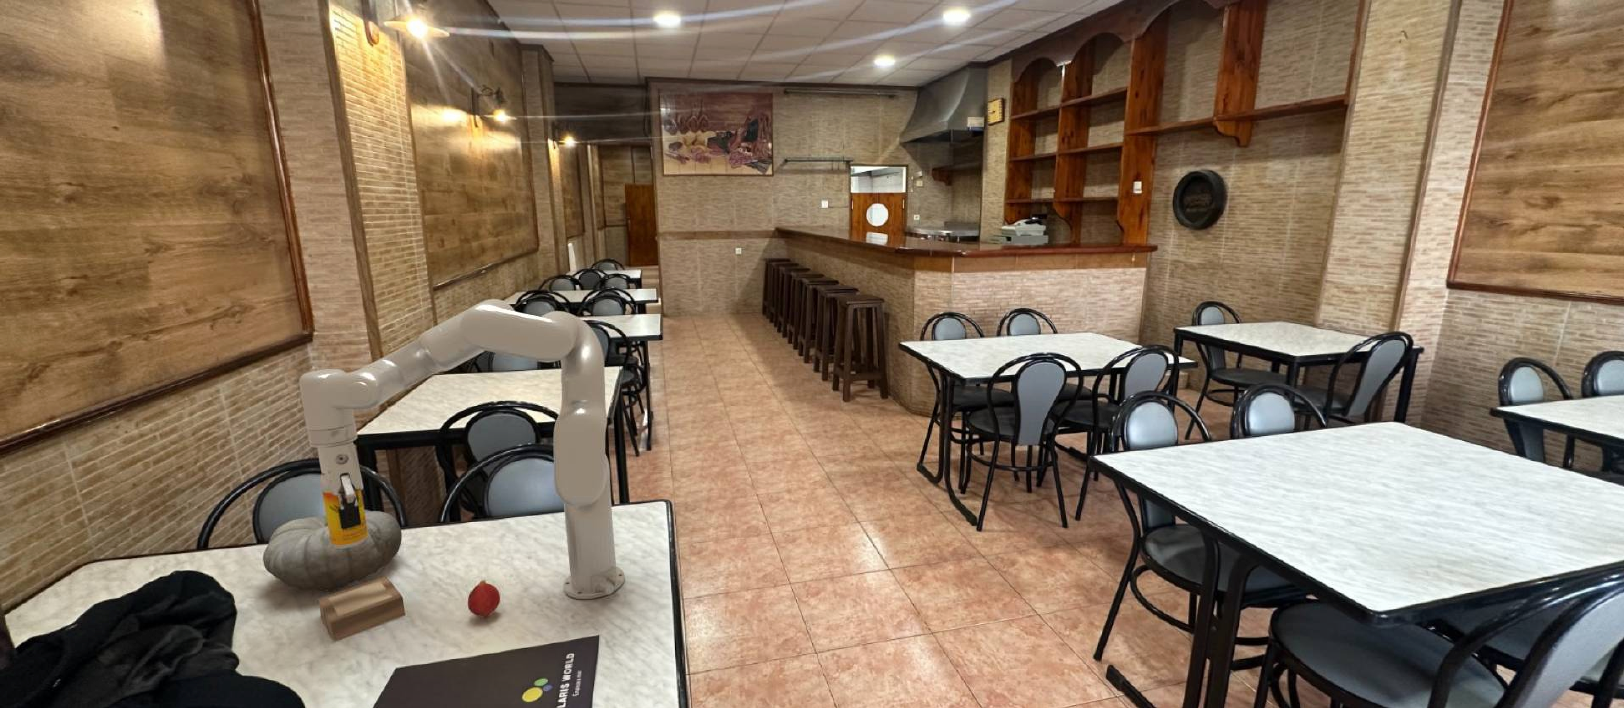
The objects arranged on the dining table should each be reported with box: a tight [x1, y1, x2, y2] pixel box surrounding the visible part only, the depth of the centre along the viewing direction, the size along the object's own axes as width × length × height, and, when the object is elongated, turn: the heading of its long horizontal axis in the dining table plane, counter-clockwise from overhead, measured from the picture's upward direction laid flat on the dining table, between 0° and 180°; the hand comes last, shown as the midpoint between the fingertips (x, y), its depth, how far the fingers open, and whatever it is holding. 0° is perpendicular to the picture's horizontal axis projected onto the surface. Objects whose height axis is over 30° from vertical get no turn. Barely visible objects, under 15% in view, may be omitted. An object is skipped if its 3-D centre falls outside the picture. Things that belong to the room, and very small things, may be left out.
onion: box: [467, 579, 501, 618], centre depth 133 cm, size 6×6×8 cm
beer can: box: [319, 472, 368, 548], centre depth 130 cm, size 6×6×15 cm
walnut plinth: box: [317, 575, 406, 643], centre depth 134 cm, size 12×12×4 cm
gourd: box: [262, 509, 403, 592], centre depth 148 cm, size 25×25×17 cm
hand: (347, 520), depth 131 cm, fingers closed on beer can, 6 cm apart
